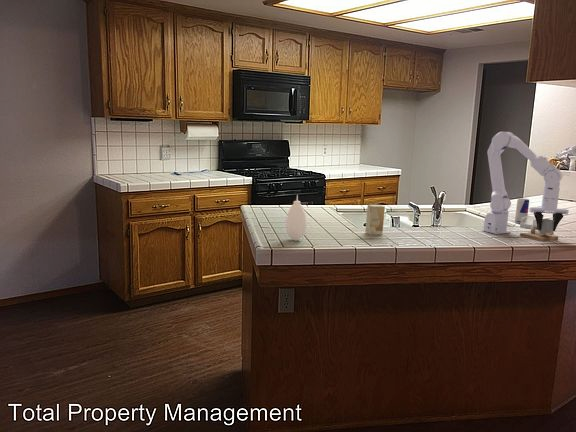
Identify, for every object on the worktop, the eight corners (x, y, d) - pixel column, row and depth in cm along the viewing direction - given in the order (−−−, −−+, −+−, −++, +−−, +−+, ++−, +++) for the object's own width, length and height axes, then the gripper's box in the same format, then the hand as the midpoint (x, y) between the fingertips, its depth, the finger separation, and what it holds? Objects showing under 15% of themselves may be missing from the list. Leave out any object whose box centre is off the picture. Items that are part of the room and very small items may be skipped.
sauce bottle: (281, 239, 184) (282, 193, 181) (295, 237, 190) (297, 192, 187) (295, 243, 179) (297, 196, 176) (309, 240, 184) (311, 194, 181)
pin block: (540, 241, 196) (541, 231, 195) (519, 235, 205) (520, 226, 204) (557, 239, 201) (559, 229, 200) (536, 234, 210) (538, 224, 209)
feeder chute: (525, 225, 231) (527, 215, 230) (539, 227, 226) (540, 217, 226) (519, 227, 225) (520, 217, 224) (533, 229, 220) (534, 219, 220)
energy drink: (527, 224, 233) (530, 200, 231) (516, 223, 234) (519, 199, 232) (524, 222, 238) (527, 198, 236) (513, 221, 239) (516, 197, 237)
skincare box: (369, 235, 197) (371, 206, 195) (364, 233, 201) (366, 204, 199) (383, 234, 199) (385, 206, 197) (378, 232, 203) (380, 204, 201)
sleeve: (540, 234, 198) (542, 220, 197) (536, 232, 203) (537, 218, 202) (555, 235, 197) (557, 221, 196) (550, 233, 202) (552, 219, 201)
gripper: (565, 197, 200) (561, 229, 202) (528, 196, 202) (524, 227, 205) (572, 200, 193) (567, 232, 195) (534, 198, 195) (530, 230, 198)
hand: (546, 230), depth 200 cm, fingers closed on sleeve, 5 cm apart
